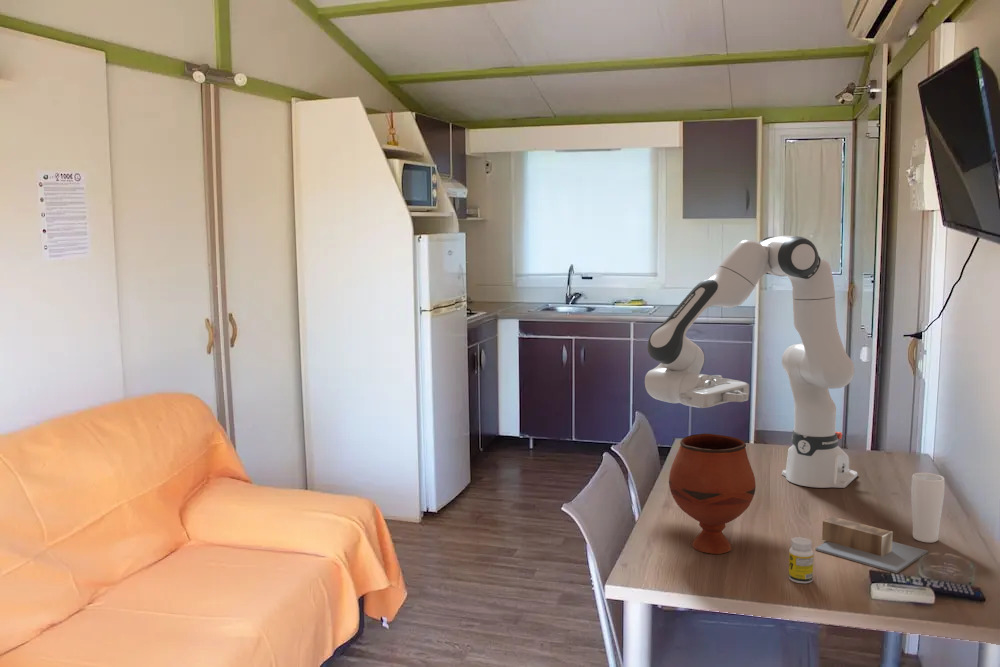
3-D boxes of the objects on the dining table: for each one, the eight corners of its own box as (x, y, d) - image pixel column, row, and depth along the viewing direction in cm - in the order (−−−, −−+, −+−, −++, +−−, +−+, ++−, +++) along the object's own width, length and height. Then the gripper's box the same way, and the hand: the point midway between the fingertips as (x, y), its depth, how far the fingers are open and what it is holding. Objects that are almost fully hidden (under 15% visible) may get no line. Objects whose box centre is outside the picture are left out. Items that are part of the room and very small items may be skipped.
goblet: (679, 527, 206) (680, 427, 202) (760, 538, 197) (763, 435, 194) (659, 555, 188) (659, 446, 185) (747, 569, 180) (749, 455, 177)
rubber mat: (848, 532, 201) (848, 530, 201) (927, 552, 187) (927, 550, 187) (815, 550, 190) (815, 547, 190) (896, 573, 177) (896, 571, 177)
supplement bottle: (788, 573, 178) (789, 535, 176) (811, 575, 176) (813, 537, 175) (788, 582, 173) (790, 543, 172) (813, 585, 172) (814, 545, 171)
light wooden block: (832, 516, 197) (892, 531, 187) (831, 534, 198) (891, 551, 187) (822, 521, 194) (883, 536, 184) (822, 539, 195) (882, 556, 184)
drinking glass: (948, 543, 193) (951, 480, 191) (921, 545, 191) (924, 481, 190) (928, 533, 199) (931, 471, 197) (902, 535, 198) (905, 473, 196)
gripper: (675, 384, 214) (722, 391, 204) (720, 374, 227) (767, 380, 217) (674, 408, 215) (721, 417, 204) (720, 396, 228) (766, 404, 218)
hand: (745, 398), depth 211 cm, fingers closed
